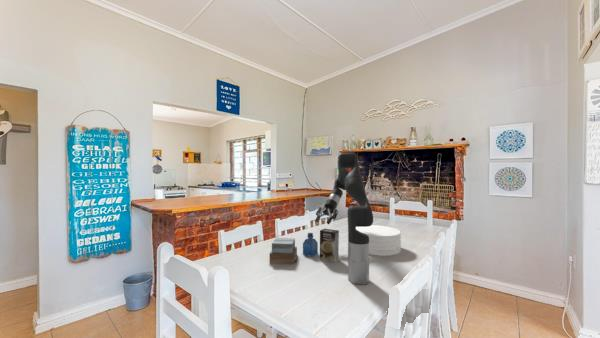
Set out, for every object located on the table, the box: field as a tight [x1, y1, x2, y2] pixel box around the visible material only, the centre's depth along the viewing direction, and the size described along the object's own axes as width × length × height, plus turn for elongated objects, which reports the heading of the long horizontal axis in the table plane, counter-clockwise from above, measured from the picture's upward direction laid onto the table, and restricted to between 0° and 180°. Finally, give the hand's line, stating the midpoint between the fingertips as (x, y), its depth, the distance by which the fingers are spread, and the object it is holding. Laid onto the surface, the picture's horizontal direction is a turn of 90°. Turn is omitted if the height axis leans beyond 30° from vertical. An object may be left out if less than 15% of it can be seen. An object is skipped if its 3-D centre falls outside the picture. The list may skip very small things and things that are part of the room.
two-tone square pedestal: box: [269, 237, 298, 265], centre depth 139 cm, size 13×13×10 cm
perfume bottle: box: [302, 232, 319, 257], centre depth 147 cm, size 6×6×12 cm
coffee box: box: [319, 228, 340, 263], centre depth 138 cm, size 9×6×16 cm
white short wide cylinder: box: [356, 224, 402, 257], centre depth 159 cm, size 28×28×12 cm
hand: (322, 222), depth 156 cm, fingers open, 8 cm apart
